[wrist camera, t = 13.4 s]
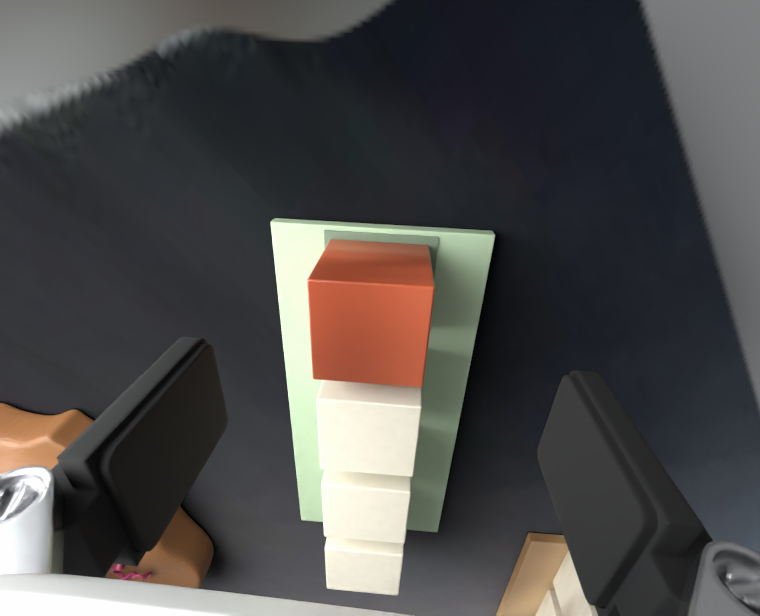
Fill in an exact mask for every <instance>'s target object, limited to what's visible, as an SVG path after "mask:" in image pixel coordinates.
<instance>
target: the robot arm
mask: <svg viewBox="0 0 760 616" xmlns="http://www.w3.org/2000/svg"><path fill="white" fill-rule="evenodd" d="M227 422H228V416H227V411H226V406H225V401H224V397H223V392H222V387H221V382H220V378H219V373H218V368H217V363H216V359H215V354H214V349H213V347H212V345H210V344H208V343H207V341H206V340H205V339H202V338H191V337H181V338H180V339H178V340H177V341H176V342H175V343H174V344H173V345H172V346H171V347H170V348H169V349H168V350H167V351H166V352H165V353H164V354H163V355H162V356H161V357H160V358H159V359H158V360H157V361H156V362H155V363H154V364H153V365H151V366H150V367H149V368H148V369H147V370H146V371H145V372H144V373H143V374H142V375H141V376H140V377H139V378H138V379H137V380H136V381H135V382H134V383H133V384H132V385H131V386H130V387H129V388H128V389H127V390H126V391H125V392H124V393H123V394H122V395H121V396H119V397H118V398H117V399H116V400H115V401H114V402H113V403H112V404H111V405H110V406H109V407H108V408H107V409H106V410H105V411H104V412H103V413H102V414H101V415H100V416H99V417H98V418H97V419H96V420H95V421H94V422H93V423H92V424H91V425H90V426H89V427H87V428H86V429H85V430H84V431H83V432H82V433H81V434H80V435H79V436H78V437H77V438H76V439H75V440H74V441H73V442H72V443H71V444H70V445H69V446H68V447H67V448H66V449H65V450H64V451H63V452H62V453H61V454H60V455H59V456H58V457H57V460H58V463H57V464H56V465H55V466H54V467H53V468H52V469H51V470H49V469H48V468H47V467H43V466H38V465H34V466H24V467H20V468H17V469H13V470H10V471H7V472H5V473H3V474H0V616H414V615H406V614H398V613H390V612H382V611H375V610H367V609H359V608H351V607H343V606H335V605H327V604H319V603H311V602H303V601H295V600H287V599H279V598H271V597H263V596H255V595H247V594H238V593H230V592H222V591H213V590H205V589H197V588H189V587H180V586H172V585H164V584H155V583H147V582H137V581H127V580H117V579H107V578H106V574H107V572H108V571H109V569H110V568H111V566H112V565H113V563H114V564H120V565H128V566H136V567H137V566H138V564H139V563H140V561H141V560H142V558H143V556H144V555H145V553H146V552H149V551H151V550H152V549H153V548H154V547H155V546H156V545H157V543H158V542H159V540H160V538H161V537H162V535H163V533H164V532H165V530H166V528H167V527H168V525H169V523H170V522H171V520H172V518H173V517H174V515H175V513H176V512H177V510H178V508H179V506H180V505H181V503H182V501H183V500H184V498H185V496H186V495H187V493H188V491H189V490H190V488H191V486H192V485H193V483H194V481H195V480H196V478H197V476H198V475H199V473H200V471H201V470H202V468H203V466H204V465H205V463H206V461H207V460H208V458H209V456H210V455H211V453H212V451H213V450H214V448H215V446H216V445H217V443H218V441H219V440H220V438H221V436H222V434H223V433H224V431H225V429H226V426H227ZM537 456H538V461H539V465H540V468H541V471H542V473H543V476H544V479H545V482H546V485H547V488H548V491H549V494H550V497H551V500H552V503H553V506H554V509H555V512H556V514H557V517H558V520H559V523H560V526H561V529H562V532H563V535H564V538H565V541H566V544H567V547H568V550H569V553H570V555H571V558H572V561H573V564H574V567H575V570H576V573H577V576H578V579H579V582H580V585H581V588H582V591H583V594H584V596H585V599H586V600H587V602H588V603H589V604H590V605H592V606H595V608H596V611H597V614H598V616H760V553H758V552H756V551H754V550H752V549H750V548H748V547H746V546H744V545H741V544H738V543H735V542H731V541H728V540H715V541H713V540H712V539H711V537H710V536H709V534H708V533H707V531H706V530H705V528H704V526H703V524H702V523H701V521H700V520H699V519H698V517H697V516H696V514H695V513H694V511H693V510H692V508H691V507H690V505H689V504H688V502H687V501H686V499H685V498H684V497H683V495H682V494H681V492H680V491H679V489H678V488H677V486H676V485H675V483H674V482H673V480H672V479H671V478H670V476H669V475H668V473H667V472H666V470H665V469H664V467H663V466H662V464H661V463H660V461H659V460H658V459H657V457H656V456H655V454H654V453H653V451H652V450H651V448H650V447H649V445H648V444H647V442H646V441H645V440H644V438H643V437H642V435H641V434H640V432H639V431H638V429H637V428H636V426H635V425H634V423H633V422H632V421H631V419H630V418H629V416H628V415H627V413H626V412H625V410H624V409H623V407H622V406H621V404H620V403H619V401H618V400H617V399H616V397H615V396H614V394H613V393H612V391H611V390H610V388H609V387H608V385H607V384H606V382H605V381H604V380H603V378H602V377H601V375H600V374H599V373H597V372H590V371H578V370H573V371H571V372H570V374H569V375H564V376H563V377H562V379H561V382H560V385H559V388H558V391H557V394H556V397H555V400H554V402H553V405H552V408H551V411H550V414H549V417H548V420H547V423H546V426H545V428H544V431H543V434H542V437H541V440H540V443H539V446H538V451H537Z"/></svg>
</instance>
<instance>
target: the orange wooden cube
mask: <svg viewBox="0 0 760 616" xmlns="http://www.w3.org/2000/svg"><path fill="white" fill-rule="evenodd" d="M307 291H308V307H309V324H310V340H311V357H312V374H313V379H317V380H330V381H343V382H357V383H370V384H383V385H396V386H410V387H422V386H423V383H424V375H425V367H426V358H427V350H428V342H429V334H430V326H431V318H432V310H433V302H434V294H435V285H434V278H433V271H432V264H431V257H430V250H429V246H428V245H419V244H402V243H386V242H369V241H352V240H336V239H331V240H330V241H329V243H328V244H327V246H326V248H325V250H324V251H323V253H322V255H321V256H320V258H319V260H318V262H317V263H316V265H315V267H314V269H313V270H312V272H311V274H310V275H309V277H308V279H307Z"/></svg>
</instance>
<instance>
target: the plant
mask: <svg viewBox="0 0 760 616" xmlns="http://www.w3.org/2000/svg"><path fill="white" fill-rule="evenodd" d="M93 422H94V421H93V420H92V419H90V418H89V417H87V416H86V415H85V414H83V413H82V412H81V411H79V410H76V409H72V410H69V411H66V412H64V413H62V414H59V415H40V414H35V413H30V412H26V411H23V410H20V409H17V408H15V407H12V406H10V405H7V404H4V403H0V474H3V473H5V472H7V471H10V470H13V469H17V468H20V467H24V466H34V465H38V466H43V467H47V468H48V469H49V470H51V469H52V468H53V467H54V466H55V465H56V464H57V463H58V460H57V457H58V456H59V455H60V454H61V453H62V452H63V451H64V450H65V449H66V448H67V447H68V446H69V445H70V444H71V443H72V442H73V441H74V440H75V439H76V438H77V437H78V436H79V435H80V434H81V433H82V432H83V431H84V430H85V429H86V428H87V427H89V426H90V425H91V424H92V423H93ZM213 550H214V549H213V544H212V541H211V540H210V538H209V537H208V535H207V534H206V533H205V532H204V531H203V530H202V528H200V527H199V526H198V525H197V524H196V523H195V522H194V521H193V520H192V519H191V518H190V517H189V516H188V515H187V514H186V513H185V512H184V510H183V509H182V508H181V506H179V508H178V510H177V512H176V513H175V515H174V517H173V518H172V520H171V522H170V523H169V525H168V527H167V528H166V530H165V532H164V533H163V535H162V537H161V538H160V540H159V542H158V543H157V545H156V546H155V547H154V548H153V549H152V550H151V551H149V552H146V553H145V555H144V556H143V558H142V560H141V561H140V563H139V564H138V566H137V567H136V566H128V565H120V564H114V563H113V565H112V566H111V568H110V569H109V571H108V572H107V574H106V578H107V579H117V580H127V581H137V582H147V583H155V584H164V585H172V586H180V587H189V588H197V589H200V587H201V585H202V583H203V581H204V578H205V576H206V574H207V571H208V569H209V567H210V564H211V561H212V557H213Z"/></svg>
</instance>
